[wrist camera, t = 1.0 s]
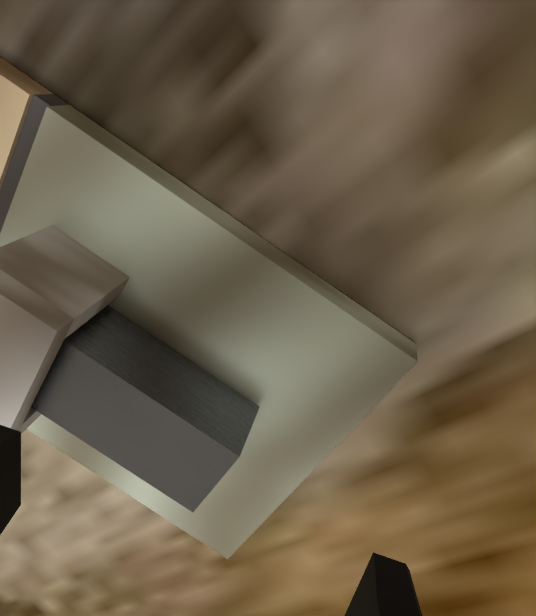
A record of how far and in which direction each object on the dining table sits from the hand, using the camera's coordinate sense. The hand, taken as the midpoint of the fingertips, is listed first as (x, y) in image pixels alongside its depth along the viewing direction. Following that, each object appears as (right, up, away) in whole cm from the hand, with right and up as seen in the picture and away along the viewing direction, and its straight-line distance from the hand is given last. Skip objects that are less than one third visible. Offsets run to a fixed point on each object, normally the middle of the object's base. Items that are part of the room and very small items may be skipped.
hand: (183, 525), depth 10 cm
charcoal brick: (-3, +2, +8) cm, 9 cm away
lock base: (-5, +4, +9) cm, 11 cm away
